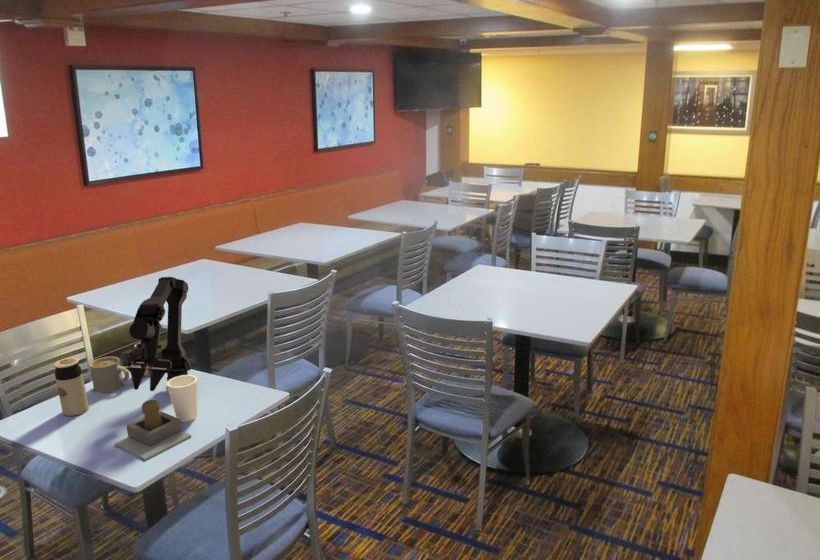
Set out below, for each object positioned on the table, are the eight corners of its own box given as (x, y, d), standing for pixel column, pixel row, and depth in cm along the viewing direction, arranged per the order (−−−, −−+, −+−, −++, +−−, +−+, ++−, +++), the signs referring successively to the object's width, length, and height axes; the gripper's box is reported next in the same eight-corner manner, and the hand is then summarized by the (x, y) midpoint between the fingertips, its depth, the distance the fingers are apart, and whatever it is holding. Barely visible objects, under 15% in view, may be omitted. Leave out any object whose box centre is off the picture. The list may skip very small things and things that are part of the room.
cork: (153, 440, 204) (147, 408, 201) (140, 435, 207) (135, 403, 204) (169, 431, 209) (164, 399, 206) (156, 427, 212) (151, 395, 209)
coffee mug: (87, 391, 240) (83, 365, 237) (108, 379, 249) (104, 355, 246) (116, 396, 236) (112, 370, 233) (137, 384, 244) (133, 359, 241)
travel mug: (82, 403, 231) (72, 355, 226) (93, 409, 226) (83, 360, 221) (58, 412, 225) (48, 363, 220) (69, 419, 220) (59, 369, 215)
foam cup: (207, 416, 219) (202, 380, 215) (181, 427, 212) (175, 390, 209) (192, 407, 225) (187, 372, 221) (166, 418, 219) (161, 381, 215)
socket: (160, 423, 216) (158, 410, 214) (191, 436, 207) (189, 423, 205) (114, 445, 203) (112, 431, 202) (145, 460, 194) (143, 446, 193)
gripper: (110, 339, 215) (104, 387, 213) (143, 339, 204) (136, 391, 201) (142, 342, 224) (136, 389, 221) (175, 342, 213) (169, 392, 210)
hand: (143, 390), depth 213 cm, fingers open, 9 cm apart
